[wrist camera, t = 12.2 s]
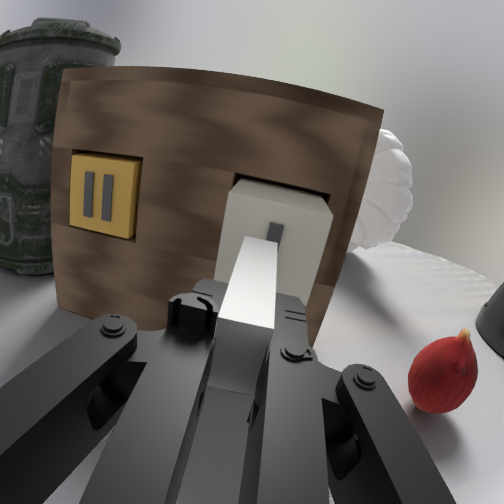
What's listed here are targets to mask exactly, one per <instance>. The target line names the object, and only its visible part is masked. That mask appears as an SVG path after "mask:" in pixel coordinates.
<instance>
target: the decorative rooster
mask: <svg viewBox="0 0 504 504" xmlns="http://www.w3.org/2000/svg"><path fill="white" fill-rule="evenodd" d="M411 175H412V166H411V163H410V162H409V159H408V158H407V157H406V155H405V154H404V153H403V145H402V144H401V142H399V141H398V139H397V138H396V137H395V136H394V135H393V134H392V133H391V132H390V131H387V130H381V129H380V131H379V136H378V140H377V144H376V149H375V153H374V157H373V161H372V165H371V169H370V173H369V177H368V180H367V184H366V188H365V191H364V195H363V199H362V202H361V206H360V209H359V213H358V216H357V220H356V223H355V226H354V230H353V233H352V236H351V239H350V243H349V246H348V249H347V252H346V254H347V253H349V252H351V251H353V250H354V249H356V248H357V247H359V246H360V247H362V248H364V249H369V248H371V247H375V246H377V245H378V244H379V243H386V242H389V241H391V240H392V239H393V238H394V236H395V234H396V232H397V231H398V230H399V229H400V223H401V222H404V221H405V220H406V218H407V216H408V212H409V211H410V210H411V208H412V205H413V197H412V194H411V192H410V191H409V189H408V188H410V187H411V186H412V183H413V179H412V176H411Z"/></svg>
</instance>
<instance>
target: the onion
mask: <svg viewBox="0 0 504 504" xmlns="http://www.w3.org/2000/svg"><path fill="white" fill-rule="evenodd" d="M477 374H478V367H477V359H476V355H475V352H474V349H473V347H472V343H471V341H470V333H469V330H467V329H465V328H464V329H462V331H461V333H460V334H459V335H458V336H457V337H446V338H442V339H439V340H436V341H434V342H432V343H431V344H429V345H428V346H426V347H425V348H424V349H422V350H421V351H420V352H419V353H418V355H417V356H416V357H415V358H414V361H413V363H412V365H411V368H410V371H409V373H408V387H409V392H410V394H411V397H412V400H413V402H414V404H415V405H416V407H417V409H419V410H421V411H423V412H427V413H432V414H440V413H446V412H450V411H452V410H454V409H456V408H458V407H459V406H460V405H461V404H462V403H463V402H464V401H465V400H466V399H467V397H468V396H469V395H470V394H471V392H472V390H473V388H474V386H475V383H476V380H477Z"/></svg>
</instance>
